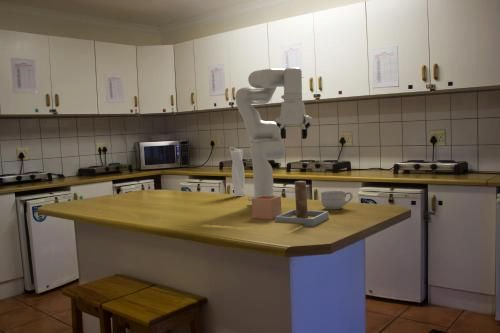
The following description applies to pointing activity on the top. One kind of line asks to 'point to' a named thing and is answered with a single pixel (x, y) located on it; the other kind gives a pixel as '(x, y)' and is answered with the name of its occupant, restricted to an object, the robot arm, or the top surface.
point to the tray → (306, 221)
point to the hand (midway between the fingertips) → (293, 138)
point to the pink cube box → (266, 207)
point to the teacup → (334, 199)
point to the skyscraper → (238, 172)
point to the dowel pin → (301, 199)
